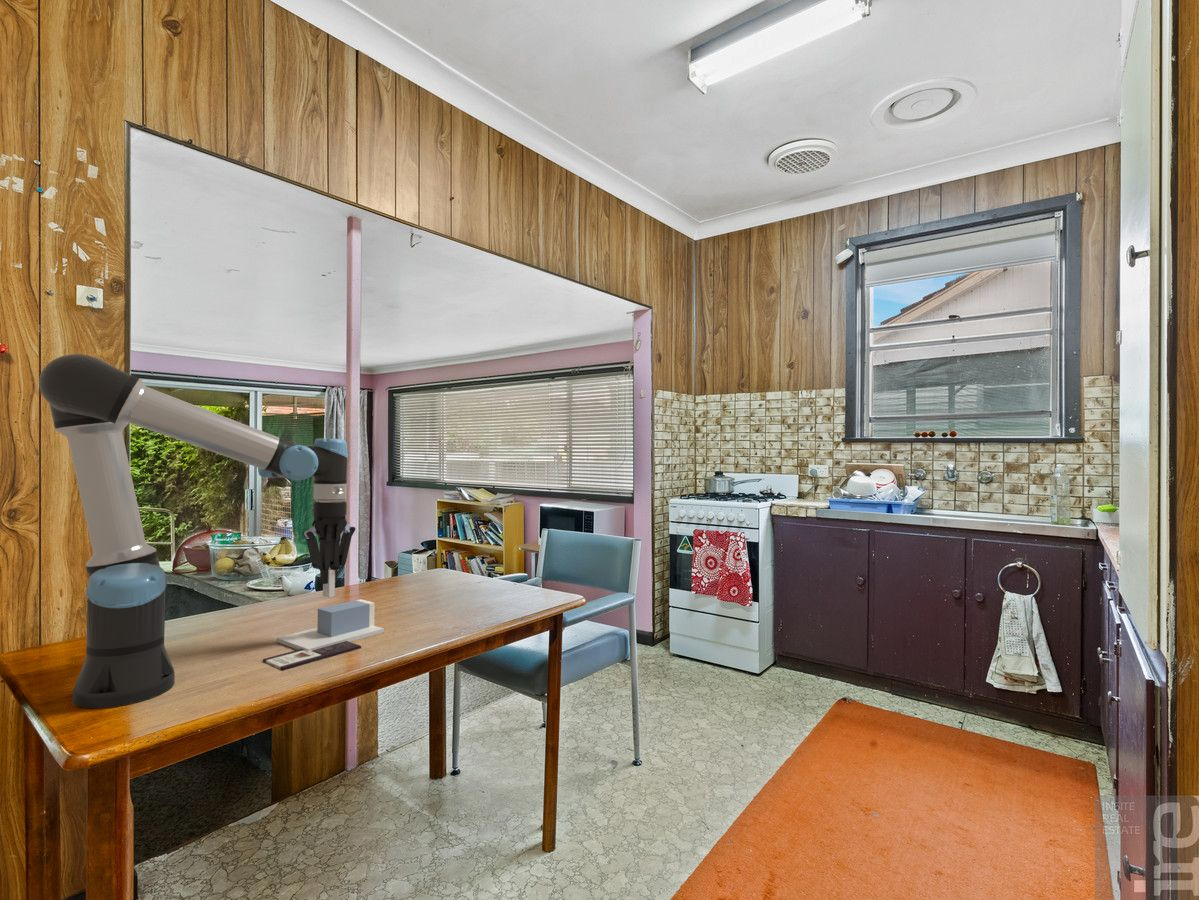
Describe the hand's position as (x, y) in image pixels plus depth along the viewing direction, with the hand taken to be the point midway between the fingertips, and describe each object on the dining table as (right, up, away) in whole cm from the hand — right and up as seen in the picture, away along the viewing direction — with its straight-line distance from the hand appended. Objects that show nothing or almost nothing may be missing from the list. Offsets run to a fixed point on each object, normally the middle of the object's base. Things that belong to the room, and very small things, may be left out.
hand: (328, 595), depth 147 cm
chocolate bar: (+2, -11, -12) cm, 16 cm away
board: (0, -10, +1) cm, 10 cm away
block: (-1, -6, -1) cm, 6 cm away
